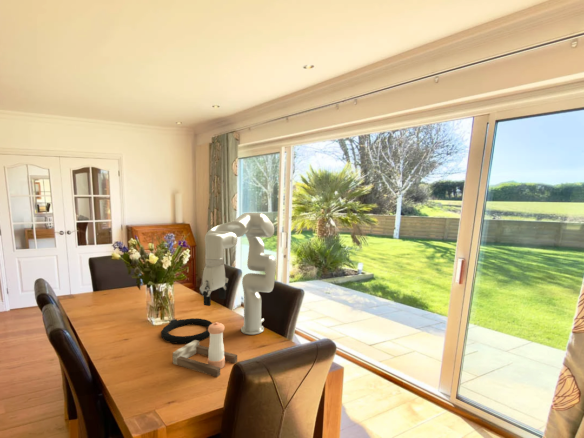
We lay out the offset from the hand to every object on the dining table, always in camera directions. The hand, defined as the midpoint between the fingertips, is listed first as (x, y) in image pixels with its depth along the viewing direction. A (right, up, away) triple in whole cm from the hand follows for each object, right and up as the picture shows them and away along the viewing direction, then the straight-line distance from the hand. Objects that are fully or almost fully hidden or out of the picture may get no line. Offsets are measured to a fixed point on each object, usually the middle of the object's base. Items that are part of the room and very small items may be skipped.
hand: (214, 302), depth 135 cm
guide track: (-5, -28, +4) cm, 29 cm away
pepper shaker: (0, -28, +2) cm, 28 cm away
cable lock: (-24, -26, +36) cm, 51 cm away
